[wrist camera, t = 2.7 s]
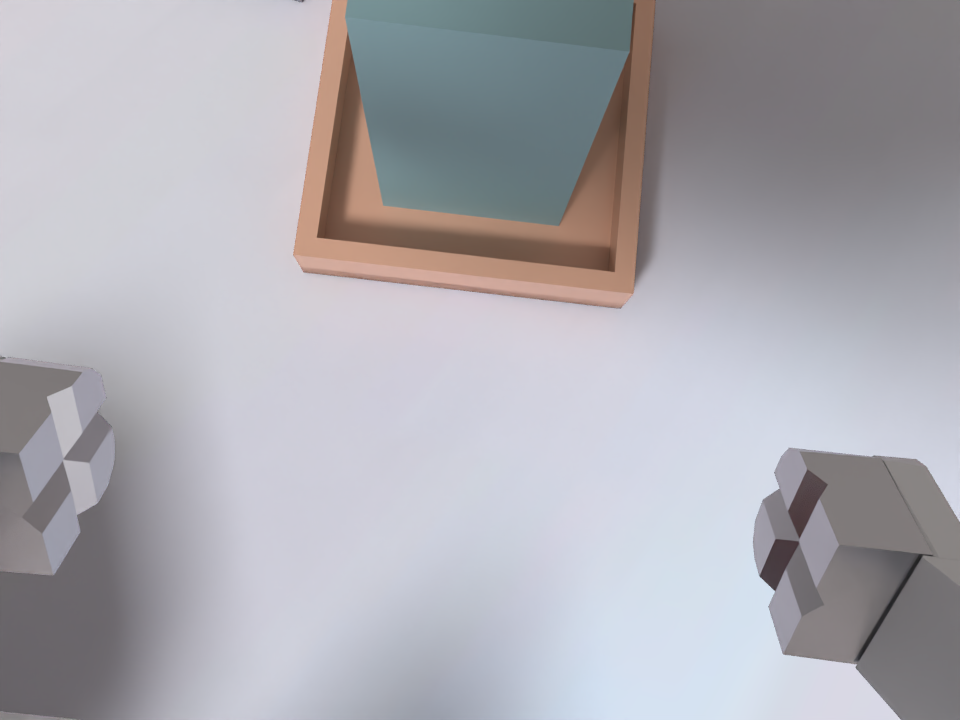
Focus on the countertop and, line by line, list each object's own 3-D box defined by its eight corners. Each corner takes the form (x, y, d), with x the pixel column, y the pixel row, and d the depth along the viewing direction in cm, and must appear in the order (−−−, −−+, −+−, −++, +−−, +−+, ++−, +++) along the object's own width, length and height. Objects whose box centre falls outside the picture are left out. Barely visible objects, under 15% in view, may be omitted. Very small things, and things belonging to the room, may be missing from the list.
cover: (383, 205, 26) (336, -23, 15) (404, 44, 27) (376, -284, 16) (558, 226, 26) (644, 14, 15) (573, 65, 27) (664, -246, 16)
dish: (303, 272, 26) (286, 244, 23) (347, -15, 28) (335, -73, 25) (620, 308, 26) (641, 285, 23) (642, 21, 28) (664, -33, 25)
